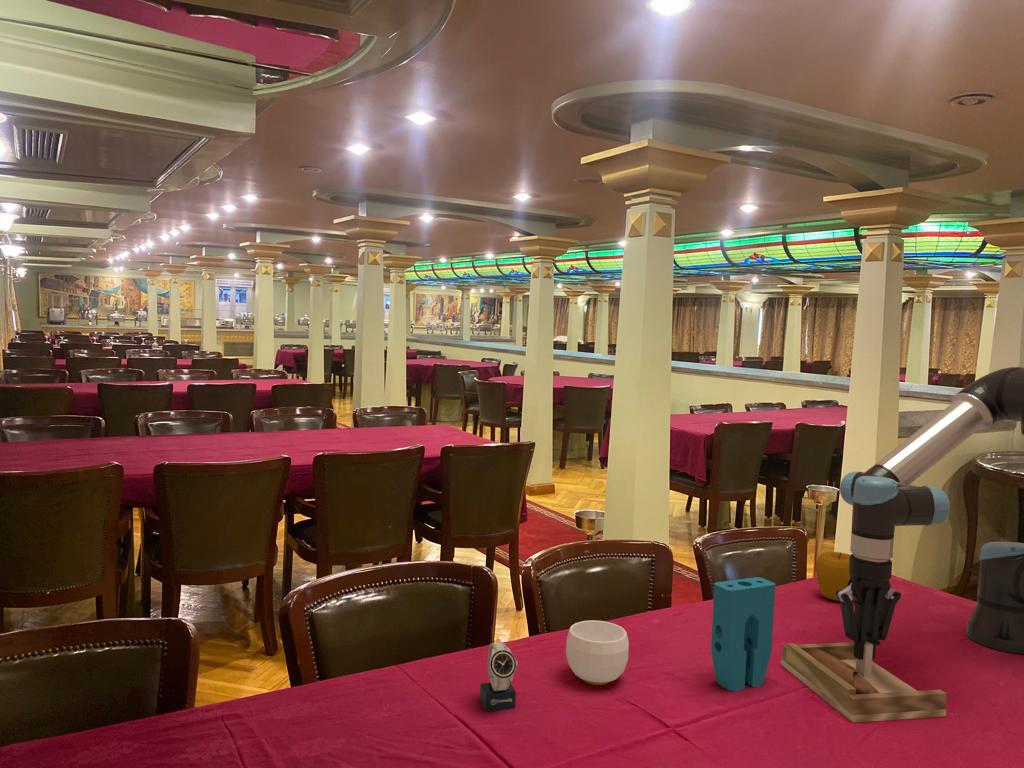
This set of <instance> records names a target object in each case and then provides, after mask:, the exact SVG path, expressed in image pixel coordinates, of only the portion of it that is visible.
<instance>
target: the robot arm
mask: <svg viewBox="0 0 1024 768" xmlns="http://www.w3.org/2000/svg"><path fill="white" fill-rule="evenodd" d="M950 401H951V402H950V404H949V405H948V406H947V407H945V409H943V410H942V411H941V412H939V413H938V414H937V415H936V416H934V417H933V418H931V420H930V421H928V422H927V423H926V424H924V425H923V426H922V427H921V428H919V429H918V430H916V431H915V432H914V433H913V434H911V435H910V436H909V437H908V438H907V439H906V440H904V441H903V442H902V443H900V444H899V445H898V446H897V447H895V448H894V449H892V450H891V451H890V452H889V453H887V455H885V456H884V457H883V458H881V459H880V460H879V461H877V462H876V463H874V465H872V466H871V467H870V468H869V469H867V470H866V471H864V472H862V471H851V472H848V473H847V474H845V475H844V476H843V478H842V479H841V480H840V483H839V493H840V496H841V498H842V500H843V501H844V502H845V503H847V504H848V505H850V506H852V513H851V514H852V515H851V532H850V549H849V551H850V559H849V573H850V579H849V581H848V584H847V588H845V589H844V590H843V591H840V590H837V591H836V596H837V598H838V599H839V601H838V602H839V605H840V611H841V619H842V624H843V630H844V636H845V637H846V638H848V639H850V640H851V641H852V642H854V657H856V670H857V671H858V672H859V673H858V674H860V675H861V676H862V677H864V678H869V677H871V669H872V661H873V660H874V659H875V658H876V650H877V646H880V645H881V644H882V643H881V641H885V640H886V639H887V637H888V634H889V630H890V626H891V623H892V619H893V616H894V613H895V610H896V609H895V608H896V605H897V604H898V602H899V600H900V599H901V597H902V593H901V592H899V591H897V590H895V589H893V588H892V587H891V586H892V585H891V582H890V580H891V578H892V573H893V572H892V571H893V561H892V560H891V559H892V558H893V557H894V543H895V541H894V540H895V531H896V527H903V526H905V527H906V526H907V527H908V526H910V527H911V526H926V527H928V526H933V525H938V524H939V525H940V524H942V523H944V522H945V521H946V520H947V519H948V517H950V513H951V512H950V510H951V501H950V499H949V497H948V495H947V494H946V492H944V490H942V489H941V488H939V487H937V486H928V485H923V486H916V485H912V483H914V482H915V481H916V480H917V479H919V478H920V477H921V476H922V475H924V474H925V473H926V472H927V471H928V470H930V469H931V468H932V467H934V466H935V465H936V464H937V463H938V462H940V461H941V460H943V458H945V457H946V456H947V455H949V454H950V453H951V452H952V451H953V450H955V449H956V448H957V447H959V446H960V445H961V444H962V443H963V442H965V441H966V440H967V439H968V438H970V437H971V436H972V435H973V434H975V433H976V432H977V431H978V430H983V431H984V430H987V429H989V428H991V427H992V426H993V425H994V424H997V423H998V422H1003V421H1014V422H1020V431H1021V436H1023V437H1024V367H1021V366H1012V367H1011V366H1010V367H1005V368H1001V369H998V370H995V371H992V372H990V373H988V374H985V375H984V376H982V377H979V378H978V379H976V380H975V381H972V382H971V383H969V384H968V385H966V386H965V387H964V388H962V389H961V390H960V391H958V392H957V393H956V394H955V395H953V396H952V397H951V400H950ZM980 550H981V551H980V556H979V559H978V580H977V597H976V604H975V606H974V608H973V610H972V613H971V616H970V619H969V620H968V621H967V622H966V629H965V630H966V631H965V634H966V636H967V638H968V639H970V640H972V641H974V642H975V643H977V644H980V645H982V646H985V647H987V648H990V649H994V650H997V651H1000V652H1001V651H1002V652H1005V653H1006V652H1007V653H1010V654H1011V653H1013V654H1020V655H1024V543H1023V542H1013V541H989V542H986V543H984V544H983V545H982V546H981V549H980ZM852 595H853V597H852Z"/></svg>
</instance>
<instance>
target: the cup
mask: <svg viewBox="0 0 1024 768" xmlns="http://www.w3.org/2000/svg"><path fill="white" fill-rule="evenodd" d="M565 645H566V646H565V654H566V659H567V663H568V666H569V668H570V669H571V671H572V672H573V673H574V675H575V676H576V677H577V678H580V679H582V681H584V682H585V683H587V684H589V685H593V686H604V685H607V684H609V683H610V682H613V681H615V680H617V679H618V678H619V677H620V676H621V675H622V674H623V673H624V672H625V669H626V666H627V664H628V662H629V661H628V660H629V649H630V648H629V646H630V641H629V637H628V633H627V631H626V630H625V629H624V627H622V626H620V625H618V624H616V623H613V622H608V621H605V620H597V619H596V620H594V619H593V620H583V621H579V622H575V623H574V624H572V625H571V626H570V627H569V630H568V634H567V637H566V643H565Z"/></svg>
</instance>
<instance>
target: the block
mask: <svg viewBox="0 0 1024 768" xmlns="http://www.w3.org/2000/svg"><path fill="white" fill-rule="evenodd" d="M775 597H776V583H775V582H772V581H771V580H768V579H765V578H763V577H759V576H758V577H757V576H755V577H747V578H740V579H733V580H732V579H731V580H725V581H724V580H723V581H717V582H714V585H713V599H712V600H713V602H712V603H713V604H712V620H711V621H712V623H711V643H710V653H711V659H712V665H713V670H714V675H715V680H716V681H715V682H716V683H717V684H718V685H720V686H721V687H723V688H725V689H726V690H728V691H729V692H738V691H743V690H745V687H746V685H748V686H750V687H752V688H757V687H761V686H764V682H765V680H766V679H765V678H766V675H767V671H768V666H769V663H770V658H771V654H772V652H773V651H772V649H773V631H774V614H775ZM745 684H746V685H745Z"/></svg>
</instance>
